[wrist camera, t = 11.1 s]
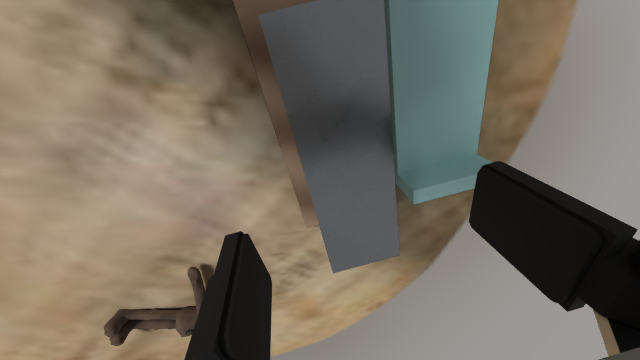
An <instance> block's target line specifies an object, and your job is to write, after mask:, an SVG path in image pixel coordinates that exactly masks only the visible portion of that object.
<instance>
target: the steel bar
mask: <svg viewBox="0 0 640 360" xmlns="http://www.w3.org/2000/svg"><path fill="white" fill-rule="evenodd" d="M259 19H260V22H261V26H262V29H263V33H264V36H265V39H266V43H267V46H268V50H269V53H270V57H271V60H272V64H273V67H274V71H275V74H276V77H277V81H278V84H279V88H280V91H281V95H282V98H283V102H284V105H285V109H286V112H287V115H288V119H289V122H290V126H291V129H292V133H293V136H294V140H295V143H296V147H297V150H298V153H299V157H300V160H301V164H302V167H303V171H304V174H305V178H306V181H307V185H308V188H309V192H310V195H311V198H312V202H313V205H314V209H315V212H316V216H317V219H318V223H319V226H320V230H321V233H322V236H323V240H324V243H325V247H326V250H327V254H328V257H329V261H330V264H331V268H332V271H333V273H336V272H340V271H343V270H347V269H351V268H354V267H358V266H362V265H365V264H369V263H373V262H376V261H380V260H384V259H387V258H391V257H395V256H398V255H400V253H399V237H398V220H397V204H396V188H395V171H394V155H393V139H392V122H391V106H390V90H389V73H388V57H387V41H386V24H385V8H384V0H315V1H311V2H307V3H303V4H299V5H296V6H292V7H288V8H284V9H280V10H276V11H272V12H268V13H264V14H260V15H259Z"/></svg>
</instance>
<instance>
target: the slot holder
mask: <svg viewBox="0 0 640 360" xmlns="http://www.w3.org/2000/svg"><path fill="white" fill-rule="evenodd" d="M497 7H498V0H384V8H385V24H386V41H387V57H388V73H389V90H390V106H391V122H392V139H393V155H394V171H395V184H396V185H397V186H398V187H399V189H400V190H401V191H402V192H403V193H404V194H405V195H406V197H407V198H408V199H409V200H410V201H411V202H412V203H413V205H415V204H418V203H422V202H426V201H430V200H433V199H437V198H441V197H445V196H448V195H452V194H456V193H459V192H463V191H467V190H471V189H474V188H475V184H476V178H477V173H478V171H479V170H480V168H481V167H482V166H483V165H486V164H489V163H493V162H491V161H489V160H487V159H485V158H484V157H482V156H480V155H478V154H477V149H478V142H479V135H480V128H481V121H482V114H483V107H484V99H485V92H486V85H487V78H488V71H489V64H490V57H491V50H492V42H493V35H494V28H495V21H496V14H497Z"/></svg>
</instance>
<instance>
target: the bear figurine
mask: <svg viewBox="0 0 640 360" xmlns="http://www.w3.org/2000/svg"><path fill="white" fill-rule="evenodd" d="M188 276H189V279H190V281H191V283H192V287H193V291H194V296H195V302H196V307H185V308H183V309H181V310H158V309H153V310H129V309H120V310H119V311H118V312H117V313H116V314H115V315H114V316H113V317H112V318H111V319H110V320H109V321H108V322H107V323H106V324H105V326H104V330H105V333H104V334H105V335H106V336H107V337H110V339H109V340H110V341H111V345H114V346H119V345H121V344H123V342H124V341H125V339H126V337H127V336H128V334H129V332H130V331H131V330H132V329H154V330H157V329H176V330H177V332H178V333H179V334H180V335H181V337H186V336H190V335H192V333H193V330H194V327H195V323H196V320H197V317H198V313H199V310H200V307H201V303H202V300H203V297H204V294H205V288H204V285H203V280H202V277H201V274H200V271H199V269H198V268H196V267H190V268H189V269H188Z"/></svg>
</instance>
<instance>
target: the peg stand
mask: <svg viewBox="0 0 640 360" xmlns="http://www.w3.org/2000/svg"><path fill="white" fill-rule="evenodd" d="M311 1H315V0H233V3H234V6H235V9H236V12H237V16H238V19H239V22H240V25H241V28H242V31H243V34H244V37H245V40H246V43H247V46H248V49H249V52H250V55H251V58H252V61H253V64H254V68H255V71H256V74H257V77H258V80H259V83H260V86H261V89H262V92H263V95H264V98H265V101H266V104H267V107H268V110H269V113H270V116H271V119H272V123H273V126H274V129H275V132H276V135H277V138H278V141H279V144H280V147H281V150H282V153H283V156H284V159H285V162H286V165H287V168H288V171H289V174H290V178H291V181H292V184H293V187H294V190H295V193H296V196H297V199H298V202H299V205H300V208H301V211H302V214H303V217H304V220H305V223H306V226H307V228H310V227H314V226H318V225H319V223H318V219H317V216H316V212H315V209H314V205H313V202H312V198H311V195H310V192H309V188H308V185H307V181H306V178H305V174H304V171H303V167H302V164H301V160H300V157H299V153H298V150H297V147H296V143H295V140H294V136H293V133H292V129H291V126H290V122H289V119H288V115H287V112H286V109H285V105H284V102H283V98H282V95H281V91H280V88H279V84H278V81H277V77H276V74H275V71H274V67H273V64H272V60H271V57H270V53H269V50H268V46H267V43H266V39H265V36H264V33H263V29H262V26H261V22H260V19H259V15H260V14H264V13H268V12H272V11H276V10H280V9H284V8H288V7H292V6H296V5H299V4H303V3H307V2H311Z"/></svg>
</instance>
